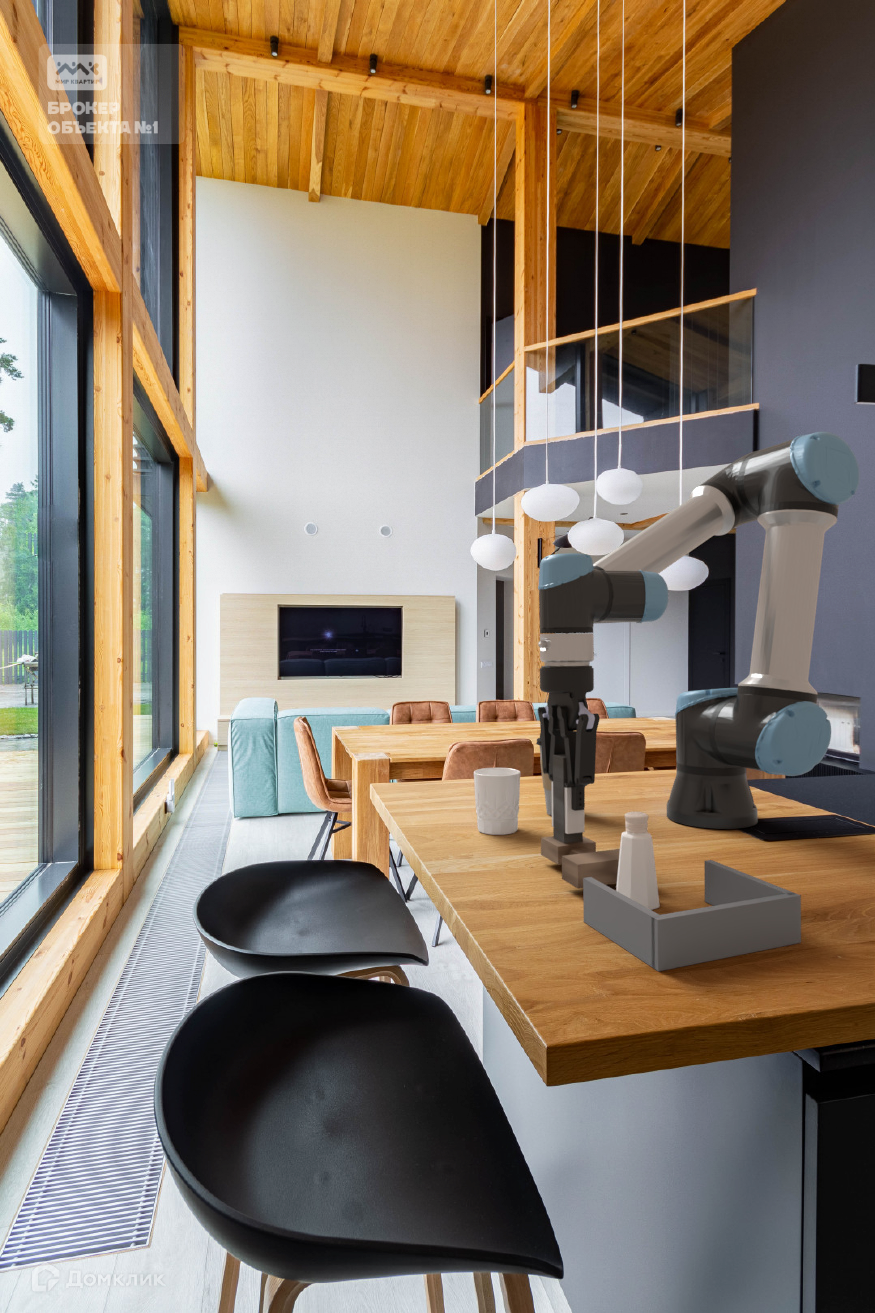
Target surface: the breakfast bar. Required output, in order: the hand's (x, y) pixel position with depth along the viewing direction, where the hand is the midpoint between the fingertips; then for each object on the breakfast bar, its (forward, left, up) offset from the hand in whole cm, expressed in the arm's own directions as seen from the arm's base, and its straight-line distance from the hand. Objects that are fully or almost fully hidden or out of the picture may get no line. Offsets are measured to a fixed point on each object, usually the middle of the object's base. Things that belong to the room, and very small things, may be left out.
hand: (567, 828), depth 103 cm
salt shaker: (0, +16, -6) cm, 17 cm away
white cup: (+1, -22, -6) cm, 23 cm away
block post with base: (0, +5, -4) cm, 6 cm away
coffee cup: (-15, -28, -6) cm, 32 cm away
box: (0, +25, -5) cm, 26 cm away
